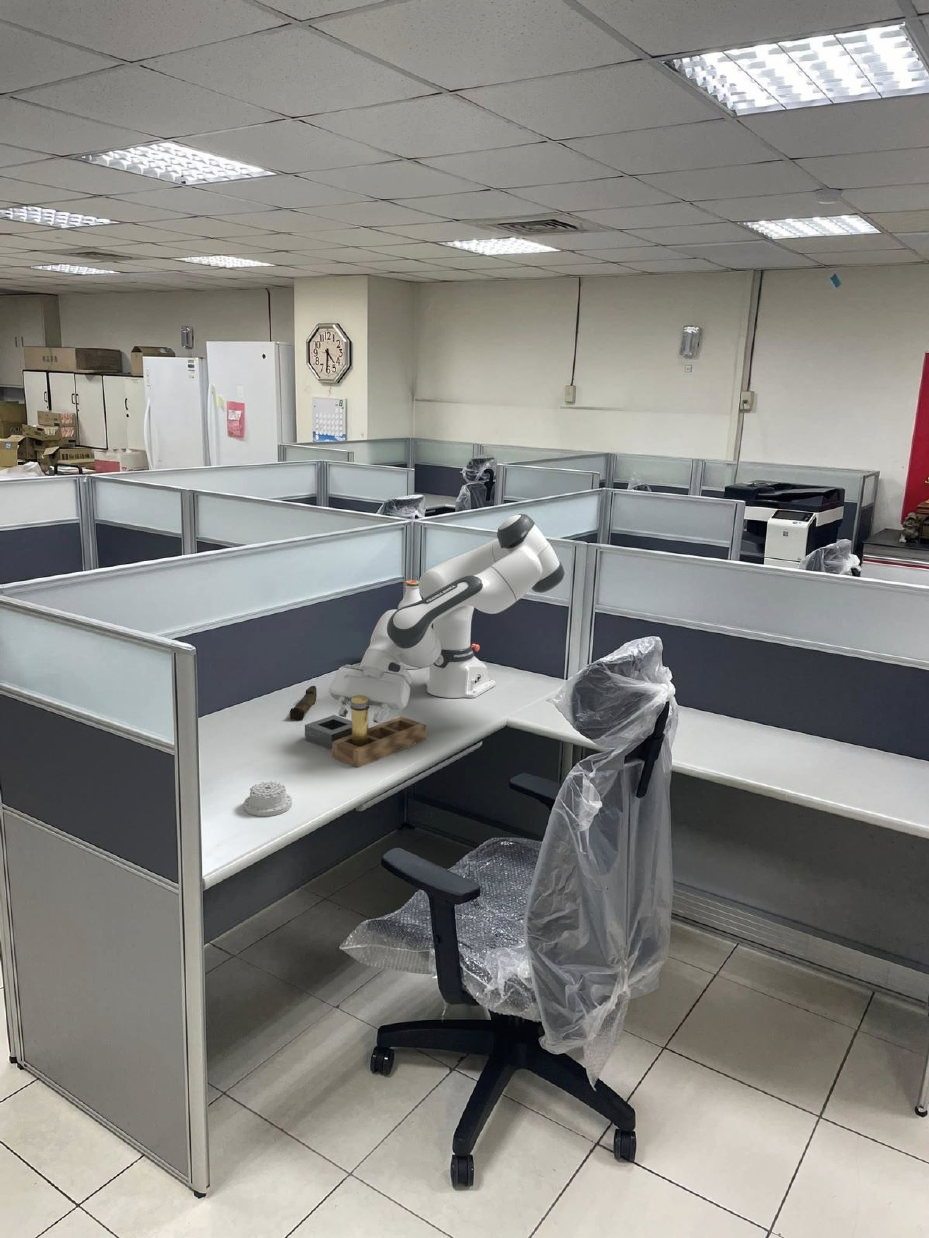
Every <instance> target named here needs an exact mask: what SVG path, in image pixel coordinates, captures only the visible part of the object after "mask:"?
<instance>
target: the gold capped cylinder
mask: <svg viewBox="0 0 929 1238" xmlns="http://www.w3.org/2000/svg"><path fill="white" fill-rule="evenodd" d="M349 705H350V709H351V710H350V711H351V721H352V744H353V745H356V746H358V747H361V746H364V745H366V744H368V728H369V709H370V705H369V700H368V697H367V696H364V695H357V696H353V697H352V698H351V700H350V701H349Z"/></svg>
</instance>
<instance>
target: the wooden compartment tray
mask: <svg viewBox="0 0 929 1238" xmlns="http://www.w3.org/2000/svg"><path fill="white" fill-rule="evenodd" d="M425 739H426V740H427V724H425V723H422V722H419V721H416V720H412V719H410V718H407V717H403V716H397V717H395V718H392V719H389V720H387V721H385V722H381V723H378V724H376V725H374V726H371V727H368V744H366V745H364V746H361V747H358V746H356V745H353V744H352V735H349V736H346V737H344V738H341V739H338V740H336V741H333V742H332V750H331V751H332V753H331V755H332V756H331V757H332V758H333V759H336V760H338V761H341V762H344V763H346V764H349V765H351V766H354V767H357V768H360V767H362V766H365V765H368V764H370V763H373V762H374V760H375V761H378V760H380V759H382V758H384V756H385V757H387V756H389V755H392V754H394V753H396V752H399V751H401V749H402V750H404V749H407V748H409V747H411V746H413V744H414V745H416V744H419V743H420V741H421V742H423V741H425ZM422 740H423V741H422ZM418 742H419V743H418ZM415 743H416V744H415ZM408 746H409V747H408ZM398 750H399V751H398ZM391 753H392V754H391ZM379 758H380V759H379ZM372 761H373V762H372ZM367 763H368V764H367Z"/></svg>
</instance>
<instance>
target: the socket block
mask: <svg viewBox="0 0 929 1238" xmlns="http://www.w3.org/2000/svg"><path fill="white" fill-rule="evenodd" d="M349 735H352V720H349V719H347V718H346V717H341V716H339V715H336V714H333V715H329V716H328V717H327V716H326V717H324V718H321V719H318V720H315V721H312V722H310V723H309V722H308V723H307V724H304V740H305V741H306V742H307V741H308V742H310V743H311V744H315V745H318V746H320V747H323V748H326V749H329V750H331V749H332V742H333V741H336V740H338V739H341V738H344V737H346V736H349Z"/></svg>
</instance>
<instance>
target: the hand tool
mask: <svg viewBox="0 0 929 1238" xmlns="http://www.w3.org/2000/svg"><path fill="white" fill-rule="evenodd" d="M317 694H318V693H317V687H316V685H311V686H309V687H308V688H306V690H305V693H304V695H303V697H302V698H301V699H300V701H298V702H297V704H295V706H294V707H291V708H290V709H289V718H290V720H291V721H298V722H299V721H300V720H301V721H303V720H304V718H305V716H306V714H307V713H308V711H310V709H311V707H312V706H314V705H315V704H316V703H315V702H317V697H318V696H317Z"/></svg>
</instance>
